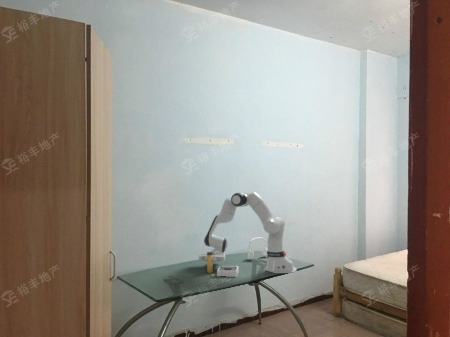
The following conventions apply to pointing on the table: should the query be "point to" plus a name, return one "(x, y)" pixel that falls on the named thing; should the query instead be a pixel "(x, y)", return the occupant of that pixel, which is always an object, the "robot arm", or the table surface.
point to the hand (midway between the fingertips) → (209, 260)
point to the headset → (264, 249)
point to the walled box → (228, 271)
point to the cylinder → (209, 262)
